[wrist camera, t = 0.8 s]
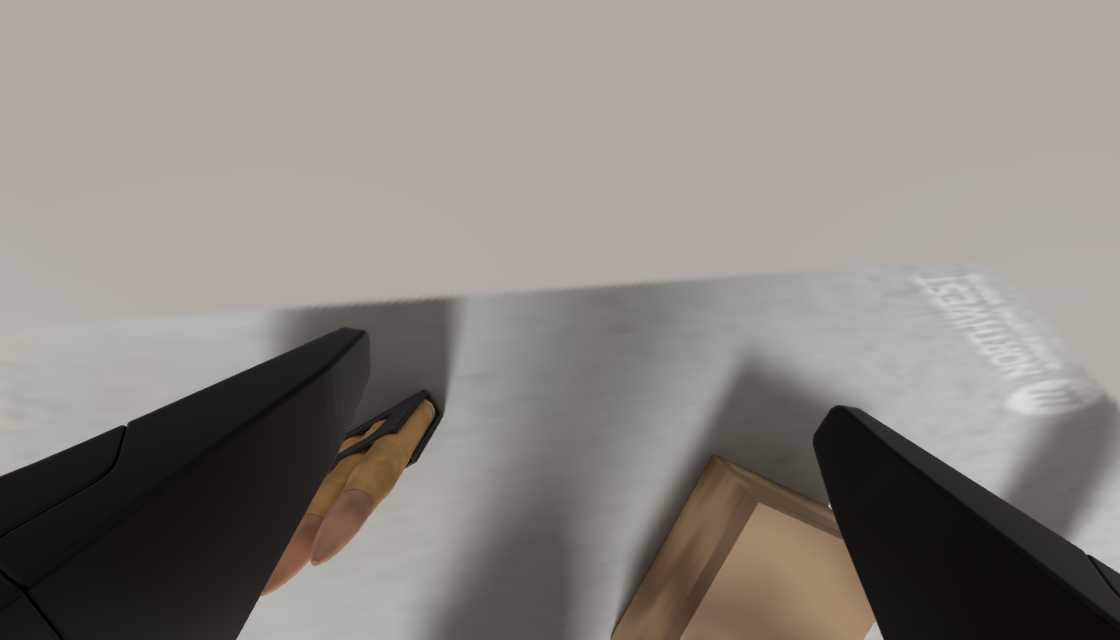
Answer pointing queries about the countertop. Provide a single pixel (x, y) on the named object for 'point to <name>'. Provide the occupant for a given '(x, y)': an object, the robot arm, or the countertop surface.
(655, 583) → the light brown wooden box
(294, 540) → the ammunition clip
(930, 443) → the countertop surface
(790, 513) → the lid
